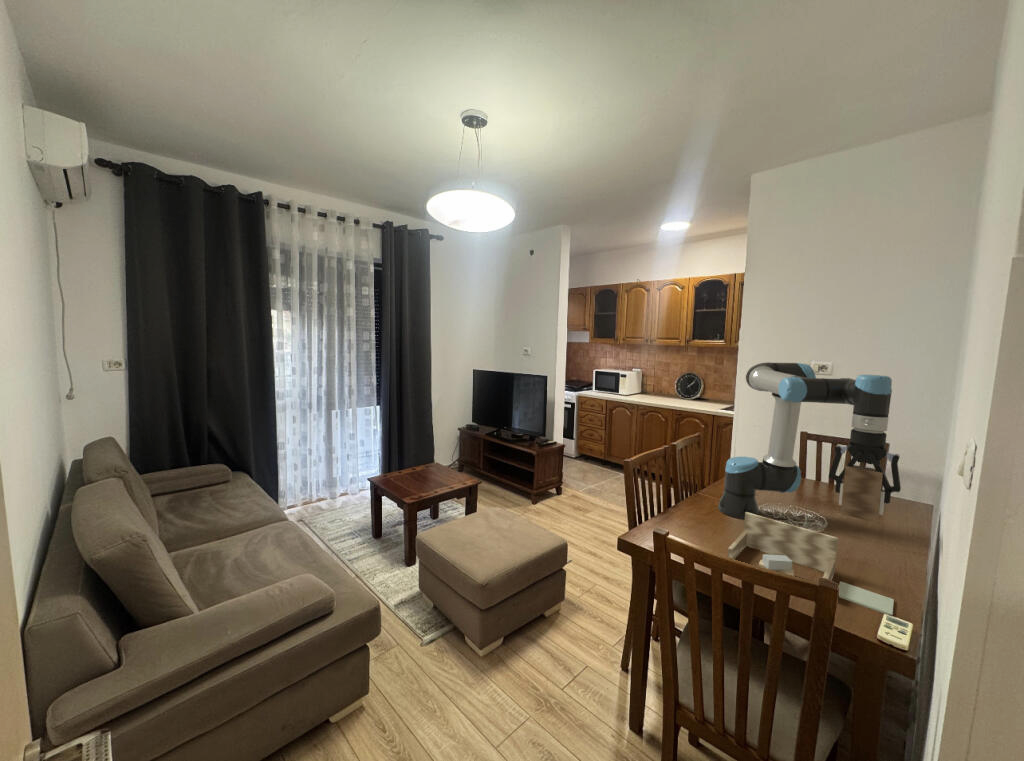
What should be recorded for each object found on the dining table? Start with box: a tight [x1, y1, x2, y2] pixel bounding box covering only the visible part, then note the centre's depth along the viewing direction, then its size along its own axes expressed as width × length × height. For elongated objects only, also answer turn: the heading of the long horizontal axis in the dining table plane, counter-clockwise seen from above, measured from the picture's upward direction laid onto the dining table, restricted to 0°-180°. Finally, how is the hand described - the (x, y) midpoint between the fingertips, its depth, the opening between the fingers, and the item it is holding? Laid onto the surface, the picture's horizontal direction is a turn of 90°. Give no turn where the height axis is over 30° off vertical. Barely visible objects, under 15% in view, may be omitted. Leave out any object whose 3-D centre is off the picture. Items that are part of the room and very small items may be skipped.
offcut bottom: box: [757, 559, 795, 577], centre depth 129 cm, size 9×4×3 cm, turn 49°
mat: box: [838, 581, 895, 616], centre depth 117 cm, size 12×9×1 cm
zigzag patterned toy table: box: [727, 512, 839, 581], centre depth 131 cm, size 26×19×12 cm
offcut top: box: [761, 553, 794, 571], centre depth 128 cm, size 7×4×3 cm, turn 86°
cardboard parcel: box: [840, 464, 883, 524], centre depth 116 cm, size 8×4×14 cm, turn 44°
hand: (860, 508), depth 117 cm, fingers closed on cardboard parcel, 8 cm apart
